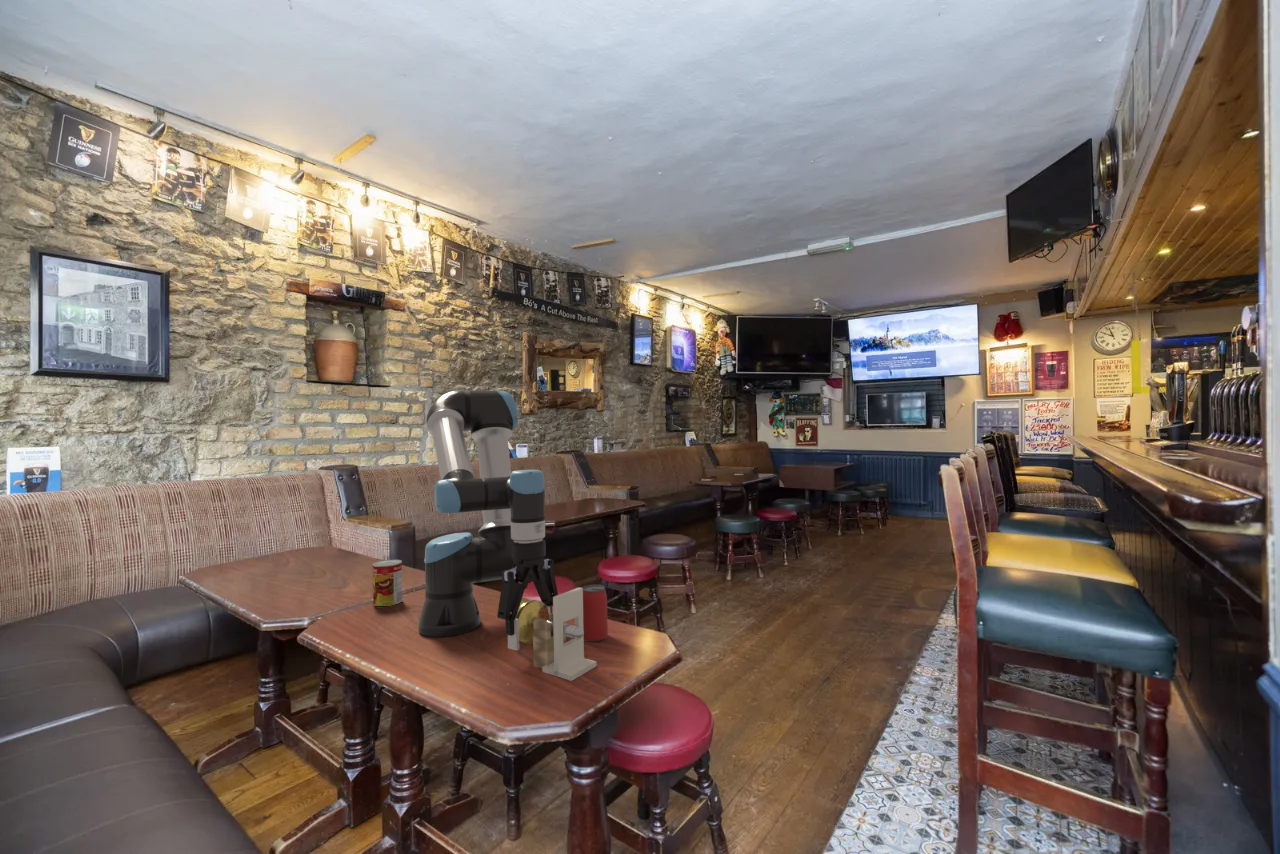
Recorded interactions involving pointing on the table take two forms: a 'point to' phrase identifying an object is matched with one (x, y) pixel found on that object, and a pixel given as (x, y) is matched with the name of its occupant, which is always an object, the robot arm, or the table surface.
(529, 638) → the gold disc on rod
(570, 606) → the beige slotted stand
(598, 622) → the beer can
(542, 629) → the cradle
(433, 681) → the table surface
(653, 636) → the table surface
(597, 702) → the table surface
